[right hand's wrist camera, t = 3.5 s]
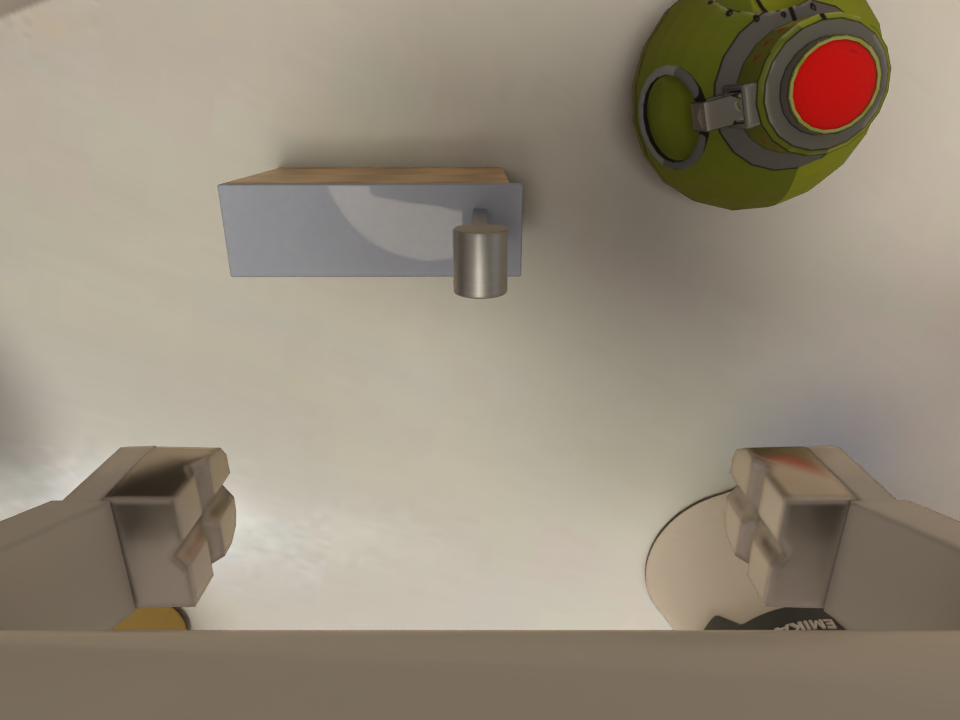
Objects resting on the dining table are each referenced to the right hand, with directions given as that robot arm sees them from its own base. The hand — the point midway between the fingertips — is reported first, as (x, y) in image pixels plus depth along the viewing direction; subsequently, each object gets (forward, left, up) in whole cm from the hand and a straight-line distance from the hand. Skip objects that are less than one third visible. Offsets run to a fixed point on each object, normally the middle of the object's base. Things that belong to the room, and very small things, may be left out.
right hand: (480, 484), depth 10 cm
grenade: (-12, -9, -33) cm, 36 cm away
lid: (+5, +1, -24) cm, 25 cm away
